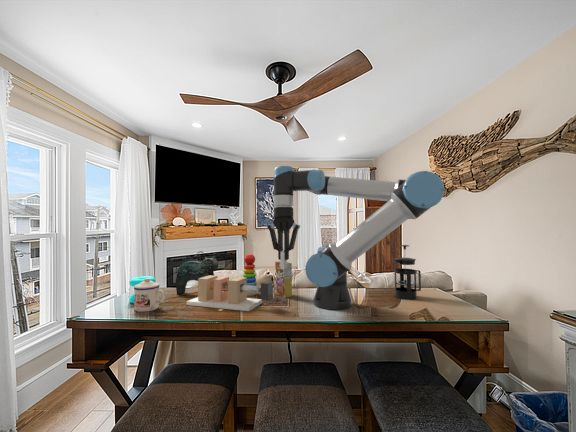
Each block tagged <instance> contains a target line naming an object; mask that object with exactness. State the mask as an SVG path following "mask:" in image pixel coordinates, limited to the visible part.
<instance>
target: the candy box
mask: <svg viewBox="0 0 576 432" xmlns="http://www.w3.org/2000/svg"><path fill="white" fill-rule="evenodd" d="M274 264H275V266H274V267H275V270H274V271H275V272H274V273H275V294H276V295H277V296H280V297H282V298H283V299H284V298H285V299H287V298H292V297H293V280H292V279H293V275H292V271H293V268H292V267H293V266H292V265H293V264H292V262H287V268H286V269H281V260H276V261H275V262H274Z"/></svg>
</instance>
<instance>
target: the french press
mask: <svg viewBox="0 0 576 432" xmlns="http://www.w3.org/2000/svg"><path fill="white" fill-rule="evenodd" d="M399 246H400V247H403V250H404V256H403V257H396V258H395V257H394V260H395V263H398V264H399V265H403V266H404V268H394V297H395V298H396V299H399V300H400V299H401V300H406V301H407V300H409V301H411V300H417V299H418V296H417V294H418V293H417V292H421V290H422V285H421V284H422V281H421V279H422V277H421V276H422V275H421V270H417V269H413V268H406V266H414V265H415V264H416V262H415V261H417V258H410V257H406V250H407V247H410V245H409V244H401V245H399ZM417 272H418V273H417ZM397 274H398V275H399V280H397ZM417 274H418V276H417ZM412 275H414V276H413V278H414V281H412ZM417 277H418V278H417ZM417 279H418V288H417ZM398 285H399V286H398ZM397 286H398V287H397ZM412 286H414V288H412Z"/></svg>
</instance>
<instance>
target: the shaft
mask: <svg viewBox="0 0 576 432" xmlns="http://www.w3.org/2000/svg"><path fill="white" fill-rule="evenodd" d="M222 290H228V284H222ZM240 291H246V292H258V293H260V299H262V300H270V299H272V298H273V297H274V281H273V280H264V281H263V282H261V283H260V285H256V286H249V285H240Z"/></svg>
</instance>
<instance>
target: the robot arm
mask: <svg viewBox="0 0 576 432" xmlns="http://www.w3.org/2000/svg"><path fill="white" fill-rule="evenodd" d="M273 171H274V172H273V206H274V207H273V220H272V223H270V224H268V225H266V226H267V229H268V231H269V234H270V238H271V243H272V248H273V250H274V251H275V250H276V251H277V252H278V254H277V255H278V256H277V257H278V261H281V269H286V268H287V261H289V259H290V251H292V250H295V249H294V248H295V245H296V241H297V235H298V231H299V229H300V228H301V225H300V224H298V223H296V222H295V220H294V207H293V206H294V192H302V191H303V192H309V193H313V194H314V195H318V196H319V195H325V196H337V197H347V198H355V199H363V200H372V201H380V202H381V201H384V202H385V203H384V204H383V205H382V206H381V207H379V208H378V209H377V210H376V211H374V212H373V213H372V214H371V215H370V216H368V217H367V218H365V220H363V221H362V222H361V223H359V224H358V225H357V226H356V227H354V228H353V229H352V230H351V231H350V232H349V233H347V234H346V235H345V236H344V237H342V238H341V239H340V240H339V241H337V242H330V243H328V244H327V245H326V246H320V247H318V248H317V252H316V253H315V254H313V255H312V254H311V256H310V257H309V258H308V259H307V261H306V263H305V270H304V271H305V275H306V277H307V279H308V280H309V282H310V283H312V284H313V285H314V286H316V289H315V293H314V296H313V305H314V306H315V307H317V308H321V309H324V310H325V309H326V310H345V309H348V308H350V307H352V306H353V305H352V303H353V302H352V297H351V294H350V291H349V288H348V281H347V280H348V279H347V277H348V274H347V273H348V271H350V270H351V269H352V263H353V262H354V261H356V260H357V259H358V258H360V257H361V256H362V255H363V254H365V253H366V252H368V251H369V250H370V249H372V247H374V246H375V245H377V244H378V243H379V242H380V241H382V240H384V238H385V237H387V236H388V235H390V233H392V232H393V231H395V230H396V229H397V228H398V227H400V226H401V225H403V223H405V222H406V221H407V220H416V219H418V218H419V217H421V216H423V214H425V213H426V212H427V211H428V210H430V209H431V208H433V207H434V206H437V205H438V204H439V203H440V202H441V201H442V199H443V197H444V195H445V194H444V193H445V186H444V185H445V184H444V182H443V179H442V178H441V177H440V176H439V175H437V174H436V173H434V172H432V171H429V170H420V171H415V172H414V173H412V174H409V176H408V177H407V178H406V179H396V181H389V180H387V181H386V180H374V179H361V178H351V177H350V178H349V177H336V176H327V175H325V173H324V171H323V170H322V169H310V170H298V171H297V170H294V167H292V166H290V165H278V166H276V167H274V169H273ZM275 228H276V230H277V234H276V230H275ZM291 229H293V230H292V233H291V236H290V231H291ZM290 237H291V238H290Z"/></svg>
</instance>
